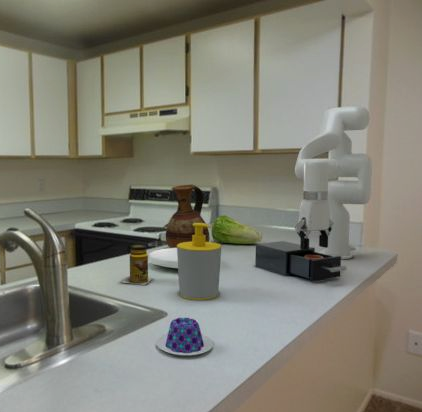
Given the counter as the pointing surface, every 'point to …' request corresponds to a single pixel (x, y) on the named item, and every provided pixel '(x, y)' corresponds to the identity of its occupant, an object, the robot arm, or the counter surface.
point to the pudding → (184, 338)
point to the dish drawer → (314, 265)
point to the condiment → (138, 266)
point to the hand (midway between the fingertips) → (314, 248)
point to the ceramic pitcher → (185, 216)
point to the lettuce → (234, 232)
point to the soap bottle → (199, 266)
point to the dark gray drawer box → (276, 256)
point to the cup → (313, 257)
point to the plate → (164, 257)
